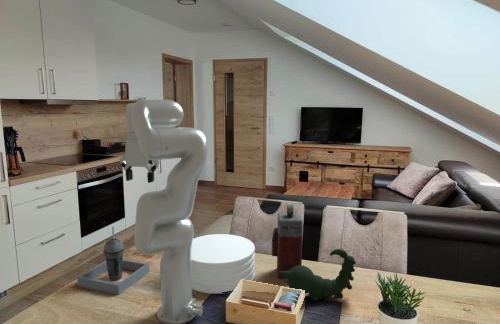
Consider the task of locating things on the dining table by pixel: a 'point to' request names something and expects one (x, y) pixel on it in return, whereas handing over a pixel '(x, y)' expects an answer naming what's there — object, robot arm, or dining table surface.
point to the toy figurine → (317, 285)
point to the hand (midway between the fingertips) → (140, 181)
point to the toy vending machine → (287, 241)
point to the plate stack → (221, 262)
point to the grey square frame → (113, 286)
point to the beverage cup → (114, 258)
